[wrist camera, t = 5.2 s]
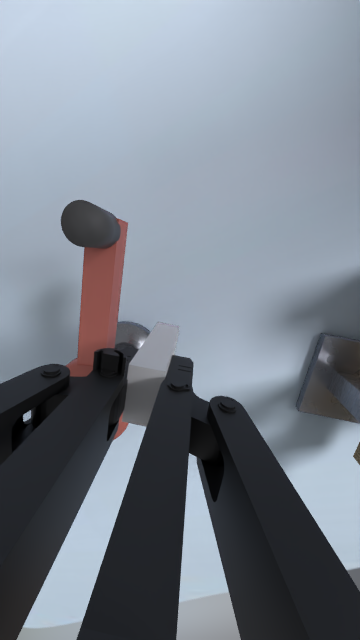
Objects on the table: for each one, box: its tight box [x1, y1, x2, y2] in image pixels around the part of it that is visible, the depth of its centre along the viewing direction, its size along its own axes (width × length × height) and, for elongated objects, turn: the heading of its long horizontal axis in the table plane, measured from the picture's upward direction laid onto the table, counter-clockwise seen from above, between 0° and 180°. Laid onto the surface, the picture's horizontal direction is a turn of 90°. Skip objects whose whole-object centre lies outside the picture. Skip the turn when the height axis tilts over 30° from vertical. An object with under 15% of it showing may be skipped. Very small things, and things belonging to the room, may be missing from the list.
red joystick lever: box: [61, 200, 128, 440], centre depth 14 cm, size 15×6×4 cm, turn 170°
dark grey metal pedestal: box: [115, 322, 151, 350], centre depth 21 cm, size 7×7×7 cm
